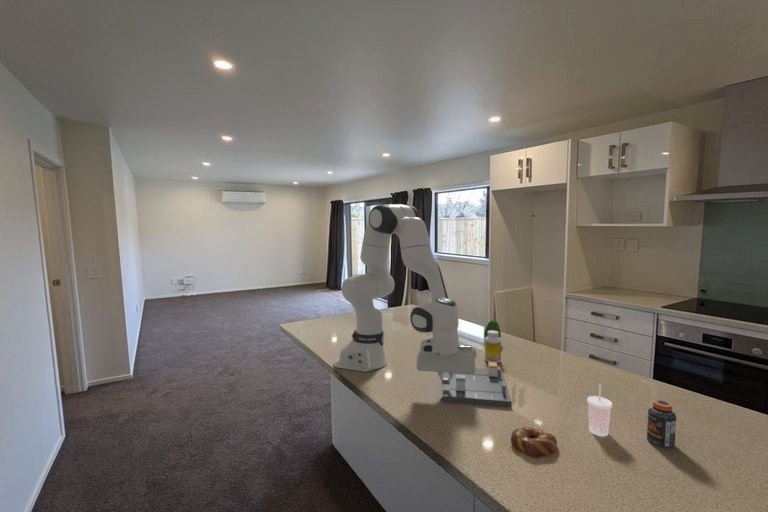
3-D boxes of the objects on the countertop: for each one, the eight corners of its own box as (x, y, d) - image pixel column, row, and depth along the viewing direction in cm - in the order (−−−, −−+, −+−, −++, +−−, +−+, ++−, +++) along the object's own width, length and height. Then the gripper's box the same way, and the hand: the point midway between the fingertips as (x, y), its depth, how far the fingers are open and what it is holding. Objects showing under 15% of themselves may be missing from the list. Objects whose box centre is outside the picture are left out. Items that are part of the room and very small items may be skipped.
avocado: (504, 344, 177) (504, 320, 176) (493, 347, 172) (493, 323, 171) (491, 340, 183) (491, 317, 182) (480, 343, 179) (480, 319, 178)
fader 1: (456, 390, 122) (456, 379, 122) (456, 385, 126) (456, 374, 126) (465, 391, 122) (465, 379, 122) (464, 386, 126) (465, 375, 125)
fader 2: (489, 376, 134) (489, 365, 133) (488, 372, 138) (488, 361, 137) (497, 376, 133) (497, 366, 133) (496, 372, 137) (496, 362, 137)
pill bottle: (641, 437, 98) (642, 397, 97) (661, 436, 99) (663, 396, 98) (659, 450, 92) (661, 408, 91) (681, 449, 93) (683, 407, 92)
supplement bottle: (501, 364, 152) (501, 334, 151) (485, 363, 153) (485, 333, 152) (499, 358, 158) (500, 329, 157) (484, 357, 160) (484, 329, 159)
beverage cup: (601, 440, 97) (603, 390, 96) (581, 428, 103) (582, 381, 102) (616, 434, 99) (618, 386, 98) (595, 423, 105) (597, 377, 104)
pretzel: (546, 434, 101) (546, 421, 100) (566, 459, 90) (567, 444, 90) (504, 435, 100) (504, 422, 100) (519, 460, 90) (519, 446, 89)
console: (442, 401, 120) (442, 387, 119) (445, 371, 145) (445, 359, 145) (511, 407, 115) (511, 392, 115) (501, 374, 141) (501, 362, 140)
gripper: (476, 343, 125) (475, 382, 126) (417, 340, 129) (417, 378, 130) (476, 349, 119) (476, 390, 120) (415, 346, 123) (416, 385, 124)
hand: (445, 383), depth 125 cm, fingers closed
